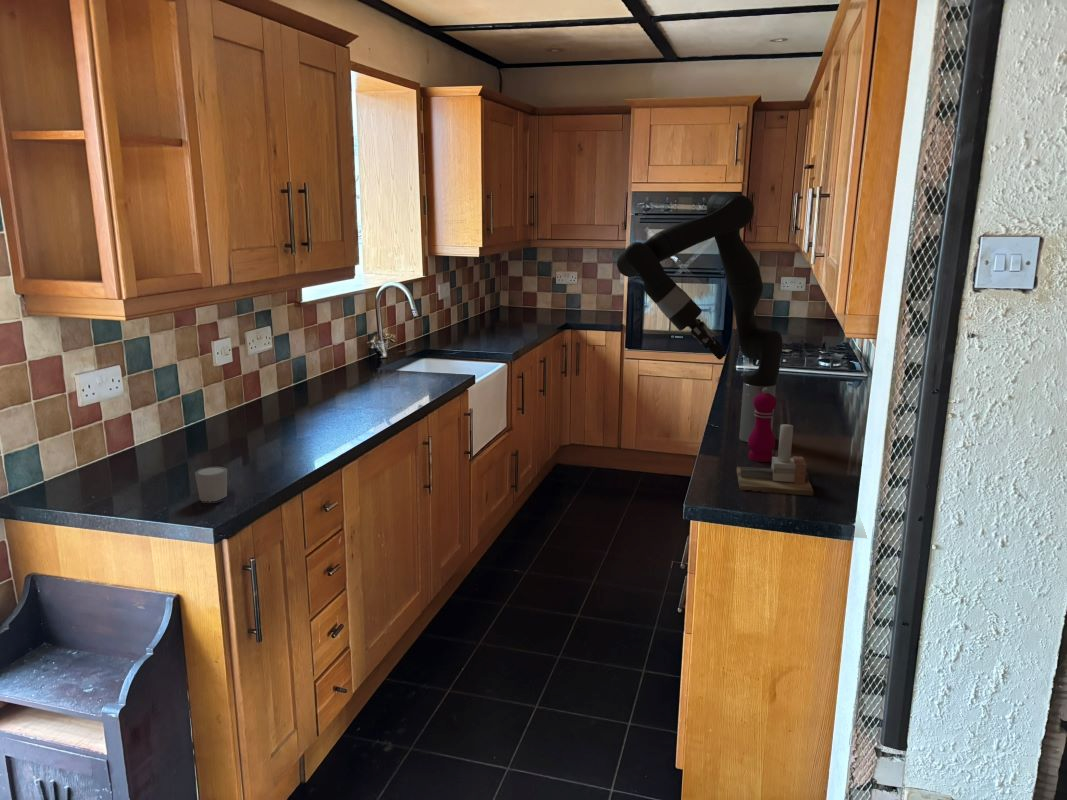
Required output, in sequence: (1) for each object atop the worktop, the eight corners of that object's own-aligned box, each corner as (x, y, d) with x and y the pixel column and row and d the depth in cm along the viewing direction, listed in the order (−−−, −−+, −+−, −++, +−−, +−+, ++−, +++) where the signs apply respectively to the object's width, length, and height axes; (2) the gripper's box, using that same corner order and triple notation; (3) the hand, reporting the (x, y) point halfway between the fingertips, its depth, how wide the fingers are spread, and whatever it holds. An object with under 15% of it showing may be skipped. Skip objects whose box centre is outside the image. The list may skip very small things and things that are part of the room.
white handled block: (770, 473, 198) (775, 422, 195) (791, 474, 197) (796, 423, 194) (772, 480, 192) (777, 428, 189) (794, 482, 192) (799, 429, 188)
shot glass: (211, 493, 183) (208, 464, 182) (236, 496, 181) (233, 467, 180) (190, 503, 177) (187, 473, 175) (216, 506, 175) (213, 477, 173)
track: (736, 470, 204) (738, 448, 203) (804, 475, 201) (806, 452, 200) (739, 490, 190) (741, 465, 188) (813, 495, 187) (815, 470, 185)
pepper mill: (769, 454, 218) (774, 384, 214) (777, 462, 211) (784, 390, 207) (743, 454, 218) (748, 384, 214) (751, 462, 211) (757, 390, 207)
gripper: (689, 300, 189) (735, 349, 190) (690, 294, 203) (732, 340, 203) (666, 321, 192) (711, 369, 192) (668, 314, 205) (710, 359, 206)
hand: (722, 354), depth 198 cm, fingers open, 8 cm apart
